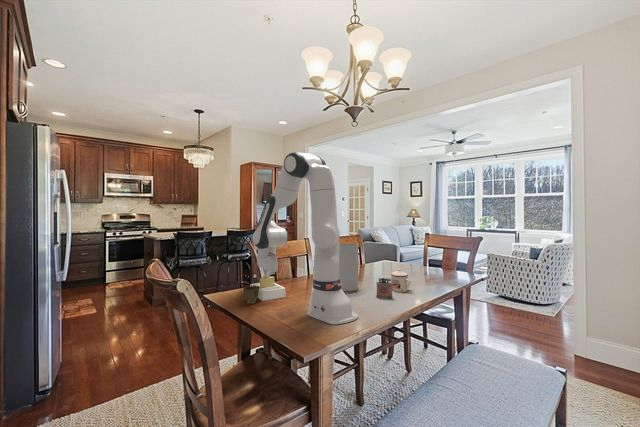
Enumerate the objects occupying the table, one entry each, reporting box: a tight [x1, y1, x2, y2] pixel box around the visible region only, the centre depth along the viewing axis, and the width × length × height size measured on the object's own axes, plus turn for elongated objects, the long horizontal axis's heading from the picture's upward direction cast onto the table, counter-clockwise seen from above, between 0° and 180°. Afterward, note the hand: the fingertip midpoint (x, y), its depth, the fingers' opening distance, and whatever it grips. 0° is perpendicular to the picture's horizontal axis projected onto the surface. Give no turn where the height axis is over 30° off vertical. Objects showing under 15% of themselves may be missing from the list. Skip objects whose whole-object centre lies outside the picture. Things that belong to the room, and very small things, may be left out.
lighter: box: [375, 276, 393, 300], centre depth 146 cm, size 8×3×10 cm, turn 68°
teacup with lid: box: [390, 268, 412, 293], centre depth 159 cm, size 12×9×12 cm
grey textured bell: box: [243, 285, 259, 305], centre depth 137 cm, size 8×7×8 cm
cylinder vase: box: [339, 243, 359, 293], centre depth 162 cm, size 12×12×25 cm
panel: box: [259, 276, 275, 288], centre depth 152 cm, size 2×7×8 cm, turn 122°
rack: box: [249, 282, 286, 302], centre depth 152 cm, size 18×13×4 cm
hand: (267, 277), depth 152 cm, fingers closed, pressing on panel
